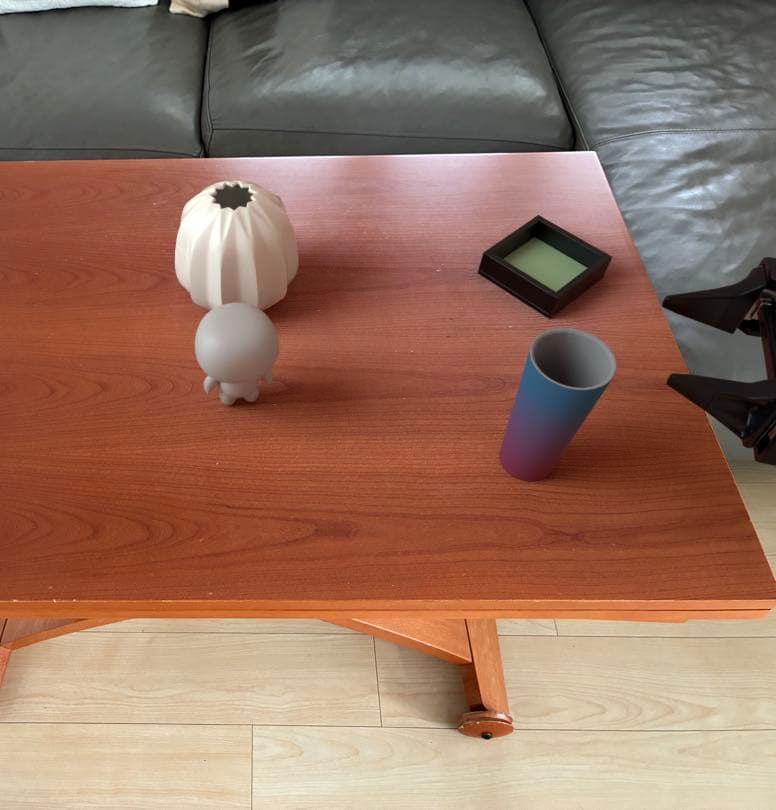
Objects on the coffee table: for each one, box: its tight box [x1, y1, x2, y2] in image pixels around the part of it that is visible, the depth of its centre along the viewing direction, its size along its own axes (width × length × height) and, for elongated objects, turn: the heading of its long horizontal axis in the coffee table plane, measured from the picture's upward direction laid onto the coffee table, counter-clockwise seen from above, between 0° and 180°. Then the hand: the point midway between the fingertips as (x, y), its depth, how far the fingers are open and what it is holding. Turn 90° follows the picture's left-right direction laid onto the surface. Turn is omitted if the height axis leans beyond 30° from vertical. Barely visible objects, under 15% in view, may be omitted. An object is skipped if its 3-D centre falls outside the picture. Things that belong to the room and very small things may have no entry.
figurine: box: [194, 303, 280, 406], centre depth 76 cm, size 8×8×12 cm
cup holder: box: [477, 214, 613, 320], centre depth 89 cm, size 10×10×3 cm
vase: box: [174, 179, 300, 312], centre depth 86 cm, size 14×14×13 cm
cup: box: [498, 327, 618, 482], centre depth 69 cm, size 7×7×15 cm
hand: (666, 338), depth 65 cm, fingers open, 9 cm apart
